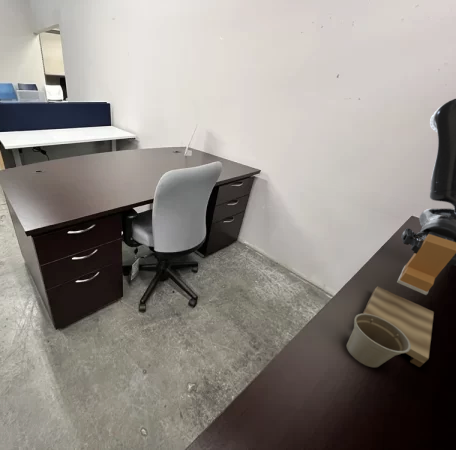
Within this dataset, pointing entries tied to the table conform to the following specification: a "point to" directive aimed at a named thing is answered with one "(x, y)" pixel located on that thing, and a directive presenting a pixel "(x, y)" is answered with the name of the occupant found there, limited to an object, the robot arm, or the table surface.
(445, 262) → the orange block
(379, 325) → the flower pot
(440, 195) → the robot arm
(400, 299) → the wooden board
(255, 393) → the table surface
